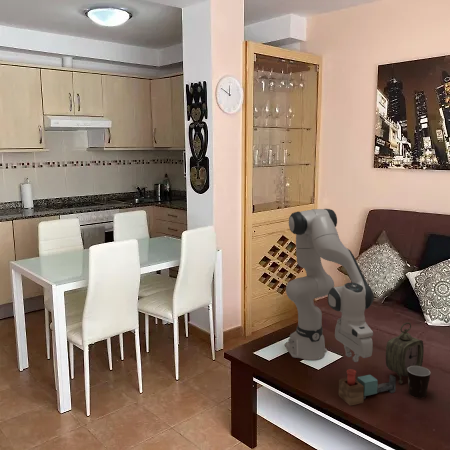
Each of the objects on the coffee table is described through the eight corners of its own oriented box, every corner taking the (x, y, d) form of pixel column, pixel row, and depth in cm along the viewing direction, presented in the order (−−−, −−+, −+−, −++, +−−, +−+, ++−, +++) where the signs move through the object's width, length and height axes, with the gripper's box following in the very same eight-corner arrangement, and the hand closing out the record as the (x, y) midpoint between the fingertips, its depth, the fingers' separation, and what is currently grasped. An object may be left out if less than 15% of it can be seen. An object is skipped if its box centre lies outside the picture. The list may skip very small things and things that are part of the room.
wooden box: (338, 395, 187) (339, 379, 186) (351, 392, 189) (351, 376, 188) (350, 405, 180) (350, 389, 179) (363, 402, 182) (363, 386, 181)
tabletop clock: (401, 386, 193) (403, 329, 189) (383, 378, 201) (385, 323, 197) (422, 376, 201) (425, 322, 197) (404, 368, 209) (406, 315, 204)
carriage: (356, 390, 188) (357, 377, 187) (369, 387, 190) (369, 374, 189) (364, 396, 183) (364, 382, 182) (377, 393, 185) (377, 380, 184)
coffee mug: (410, 386, 193) (411, 363, 192) (431, 392, 188) (433, 369, 186) (400, 398, 185) (401, 374, 183) (423, 405, 179) (424, 381, 177)
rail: (355, 394, 187) (355, 381, 186) (389, 387, 193) (390, 373, 192) (361, 399, 184) (361, 385, 183) (396, 392, 189) (396, 378, 188)
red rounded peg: (344, 383, 185) (345, 369, 184) (352, 381, 186) (352, 368, 185) (349, 387, 181) (350, 374, 180) (357, 386, 182) (358, 372, 181)
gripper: (331, 317, 188) (330, 349, 190) (361, 336, 169) (360, 371, 171) (344, 315, 190) (343, 347, 192) (376, 333, 171) (374, 368, 173)
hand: (351, 358), depth 182 cm, fingers open, 3 cm apart
